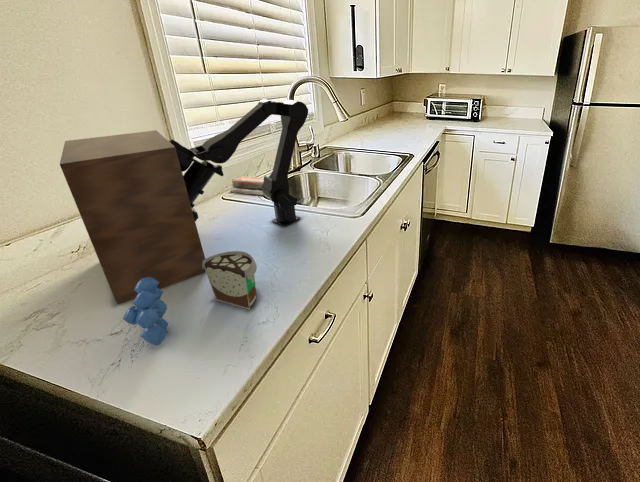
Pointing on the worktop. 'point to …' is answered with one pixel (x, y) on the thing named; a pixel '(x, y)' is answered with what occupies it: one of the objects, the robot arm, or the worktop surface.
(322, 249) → the worktop surface
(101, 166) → the cupboard
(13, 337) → the worktop surface
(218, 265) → the food container
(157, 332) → the grapes
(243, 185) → the packaged product
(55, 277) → the worktop surface
